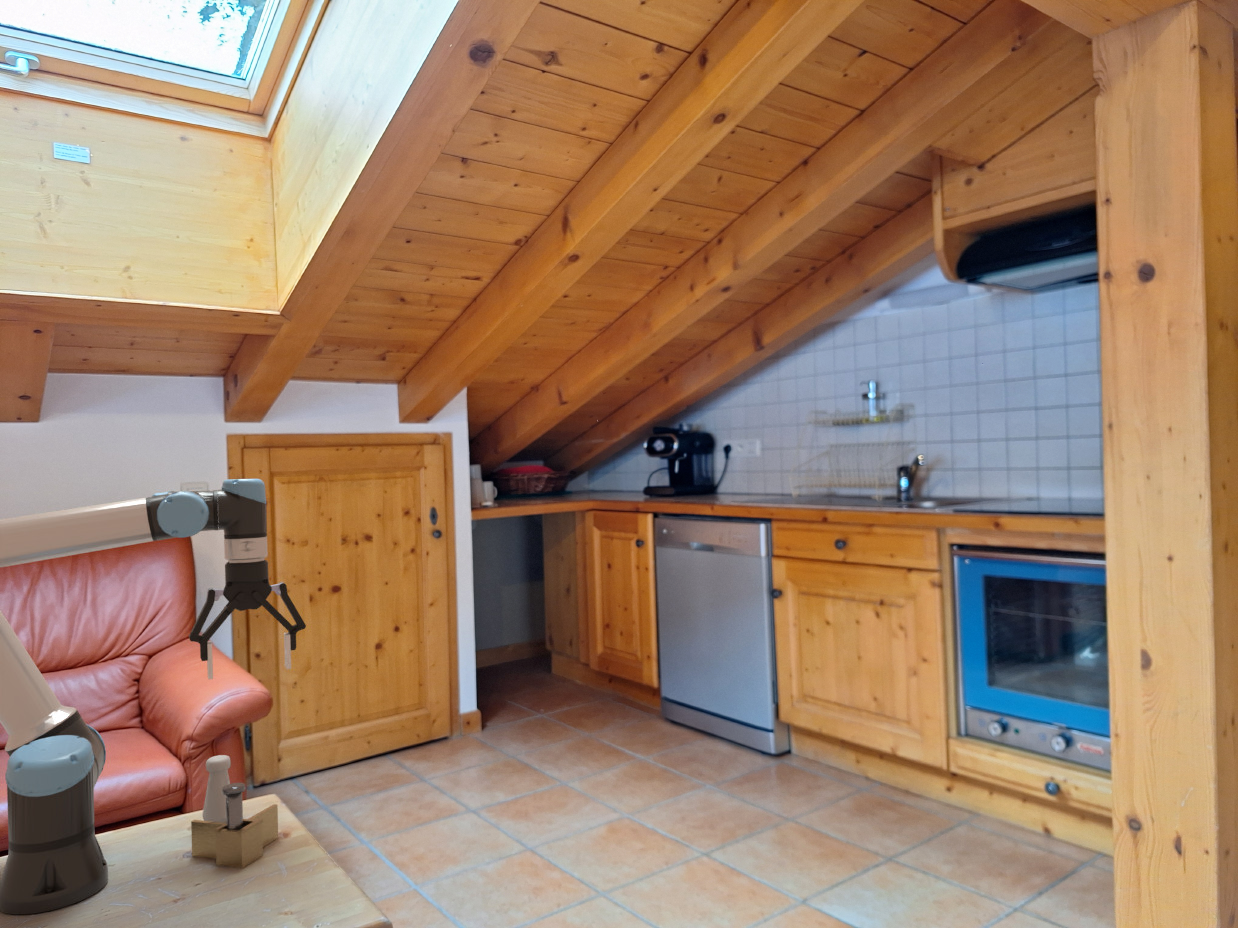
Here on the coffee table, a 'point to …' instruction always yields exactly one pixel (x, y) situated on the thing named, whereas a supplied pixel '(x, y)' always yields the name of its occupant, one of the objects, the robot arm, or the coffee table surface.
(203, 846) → the hinge
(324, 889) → the coffee table surface
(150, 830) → the coffee table surface
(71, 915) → the coffee table surface
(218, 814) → the salt shaker
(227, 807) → the hinge pin
